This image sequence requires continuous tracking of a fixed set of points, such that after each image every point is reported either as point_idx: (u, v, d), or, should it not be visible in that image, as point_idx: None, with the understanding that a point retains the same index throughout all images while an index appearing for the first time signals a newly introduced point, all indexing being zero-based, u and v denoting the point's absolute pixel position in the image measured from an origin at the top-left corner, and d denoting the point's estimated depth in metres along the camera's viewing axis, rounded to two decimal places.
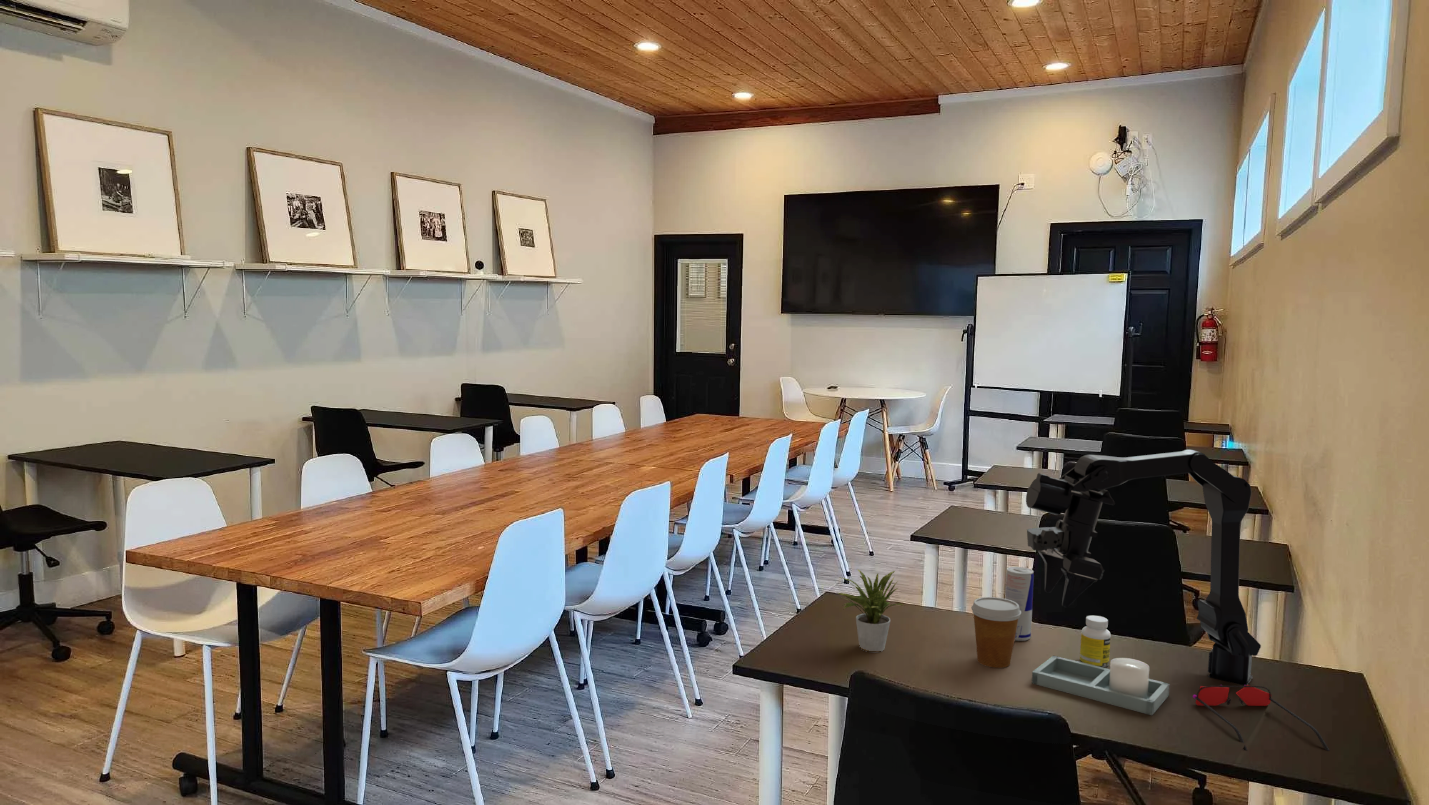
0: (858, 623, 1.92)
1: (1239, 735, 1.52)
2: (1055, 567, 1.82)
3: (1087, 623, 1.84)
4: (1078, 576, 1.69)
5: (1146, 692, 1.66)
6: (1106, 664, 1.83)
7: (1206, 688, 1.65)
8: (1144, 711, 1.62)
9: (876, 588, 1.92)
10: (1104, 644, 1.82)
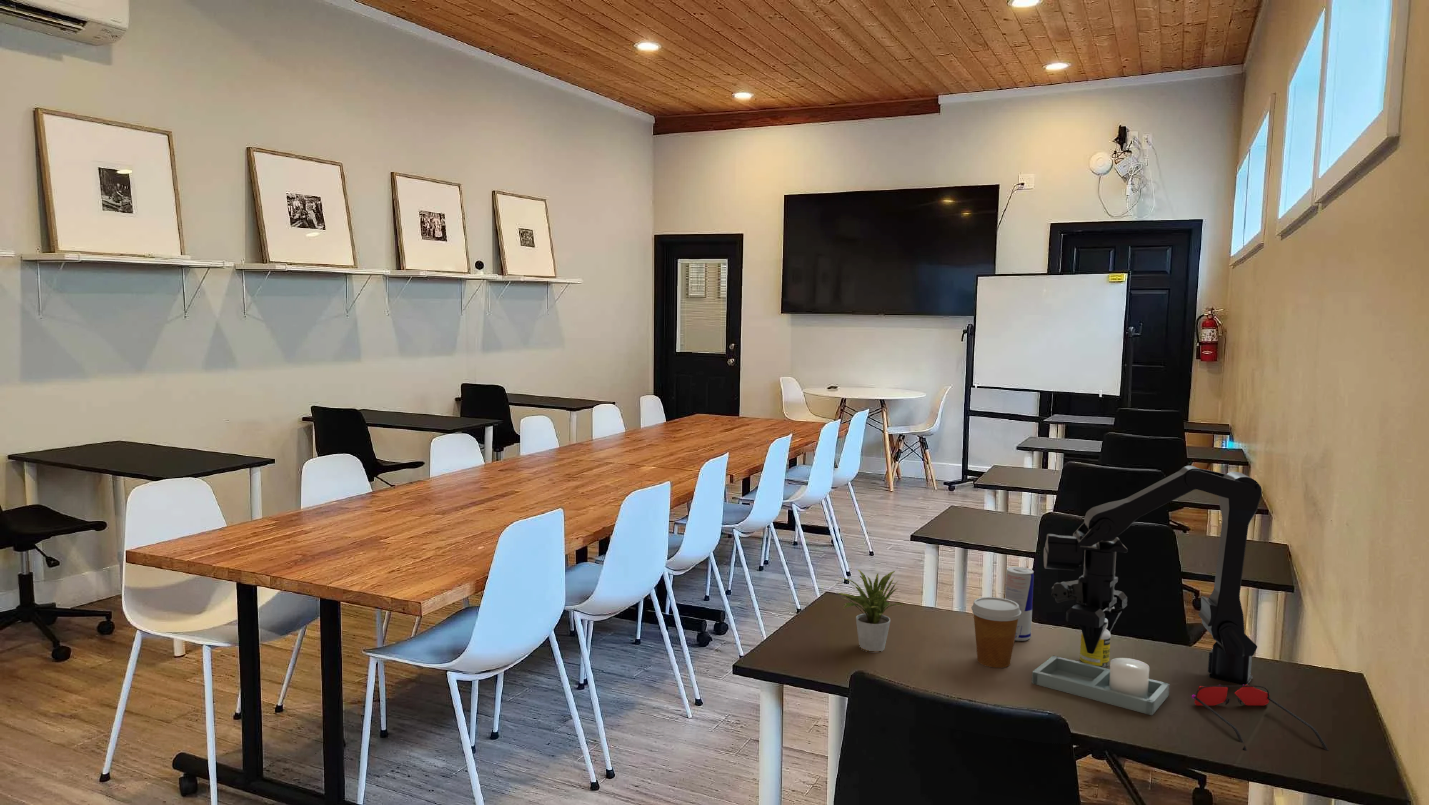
0: (858, 623, 1.92)
1: (1239, 735, 1.52)
2: None
3: None
4: None
5: (1146, 692, 1.66)
6: (1106, 664, 1.83)
7: (1205, 688, 1.65)
8: (1144, 711, 1.62)
9: (876, 588, 1.92)
10: (1104, 644, 1.82)
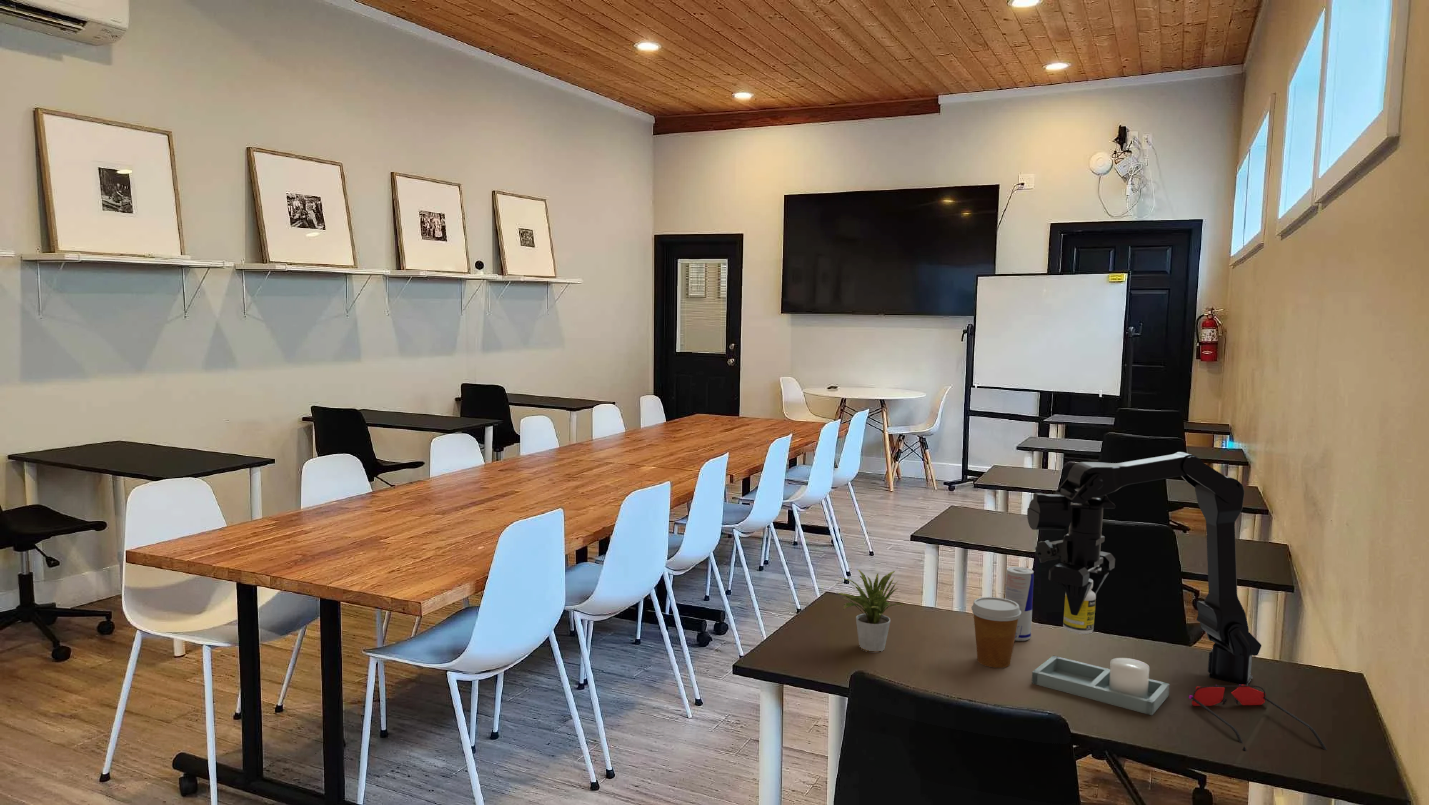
0: (858, 623, 1.92)
1: (1238, 736, 1.52)
2: None
3: None
4: None
5: (1146, 692, 1.66)
6: (1090, 627, 1.75)
7: (1202, 688, 1.65)
8: (1144, 711, 1.62)
9: (876, 588, 1.92)
10: (1088, 605, 1.74)
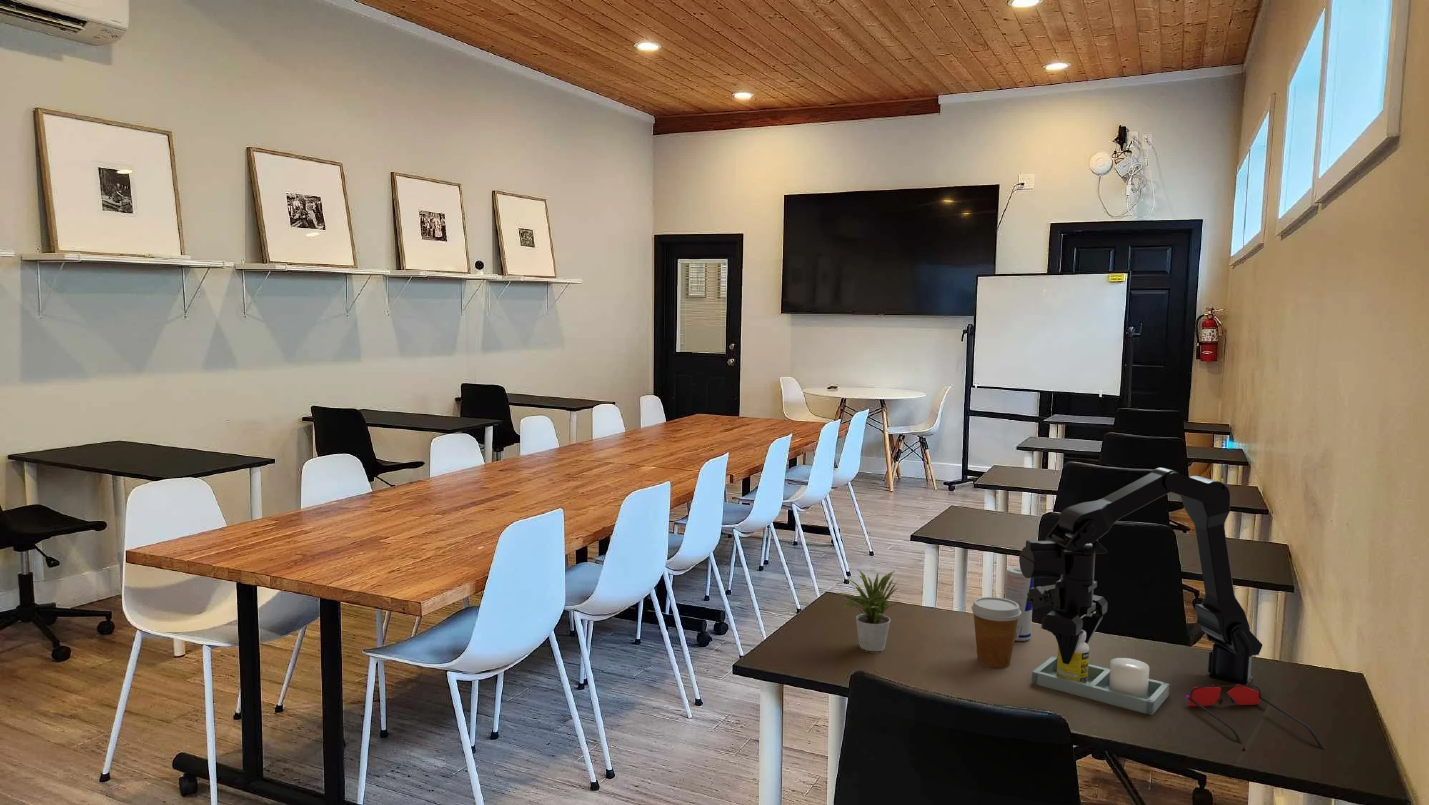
0: (858, 623, 1.92)
1: (1237, 736, 1.52)
2: (1083, 626, 1.77)
3: None
4: (1057, 632, 1.69)
5: (1146, 692, 1.66)
6: (1084, 679, 1.73)
7: (1199, 688, 1.65)
8: (1144, 711, 1.62)
9: (876, 588, 1.92)
10: (1082, 658, 1.72)
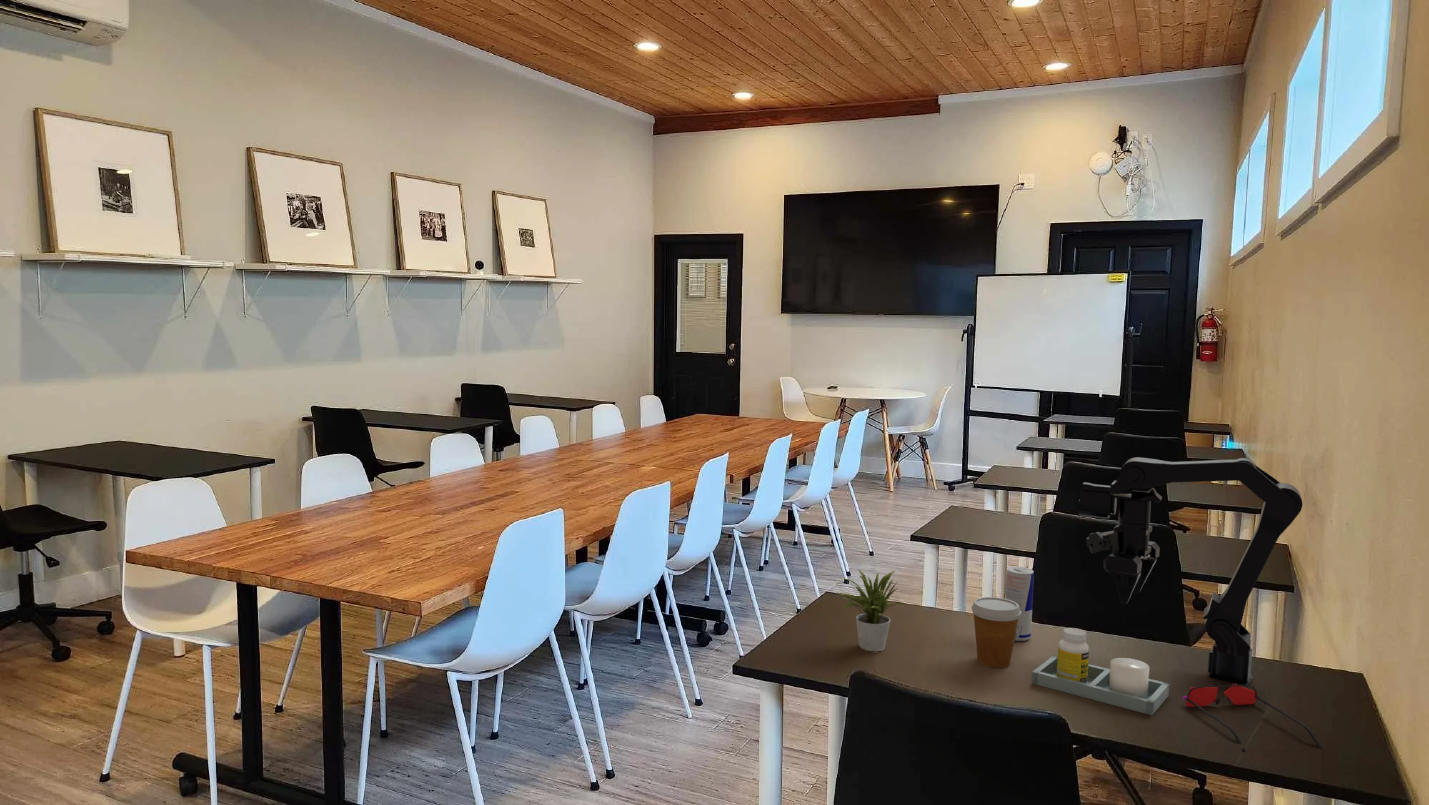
0: (858, 623, 1.92)
1: (1237, 737, 1.51)
2: None
3: (1064, 636, 1.74)
4: (1116, 573, 1.81)
5: (1146, 692, 1.66)
6: (1084, 679, 1.73)
7: (1196, 689, 1.65)
8: (1144, 711, 1.62)
9: (876, 588, 1.92)
10: (1082, 658, 1.72)
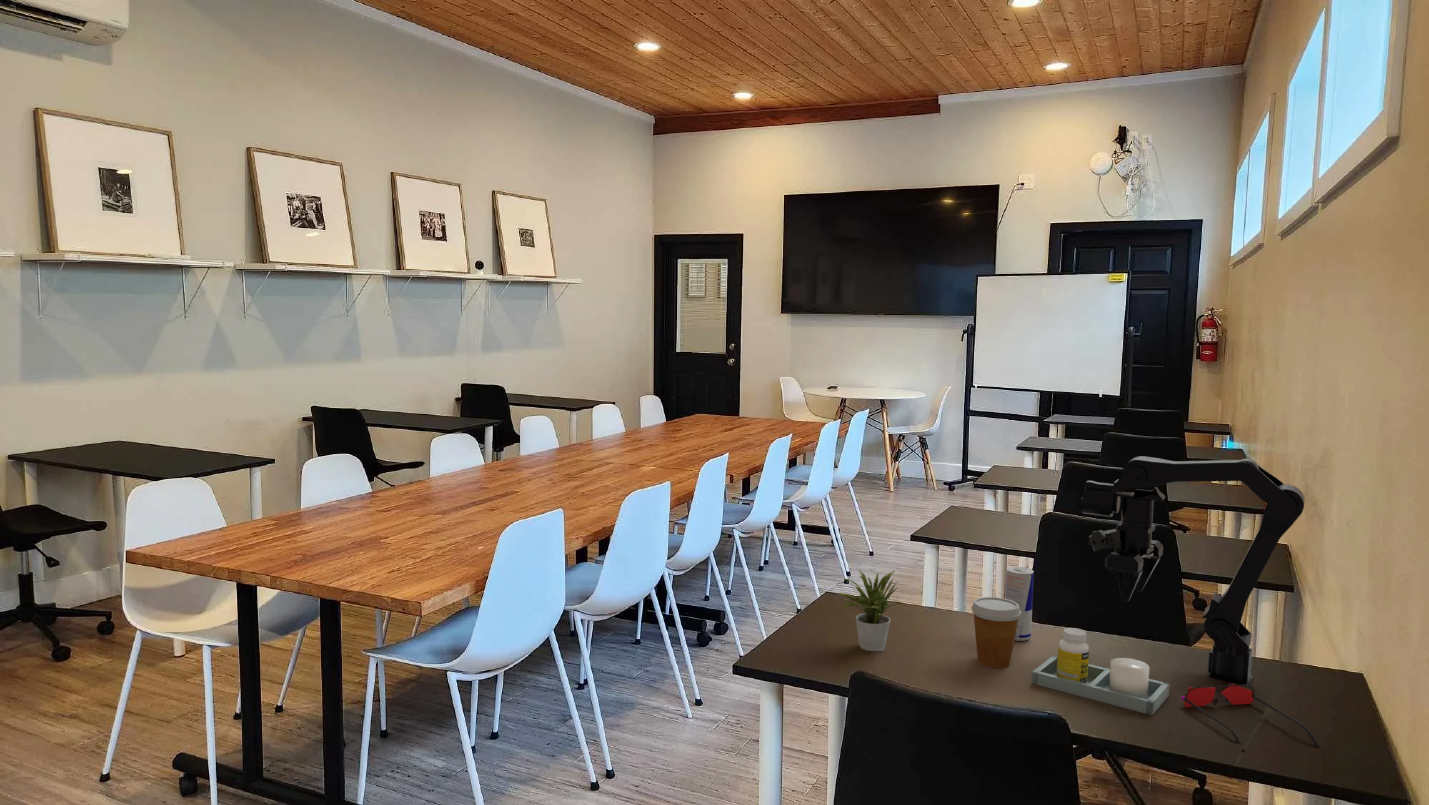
0: (858, 623, 1.92)
1: (1236, 737, 1.51)
2: (1141, 567, 1.91)
3: (1064, 636, 1.74)
4: (1118, 571, 1.82)
5: (1146, 692, 1.66)
6: (1084, 679, 1.73)
7: (1194, 689, 1.64)
8: (1144, 711, 1.62)
9: (876, 588, 1.92)
10: (1082, 658, 1.72)
